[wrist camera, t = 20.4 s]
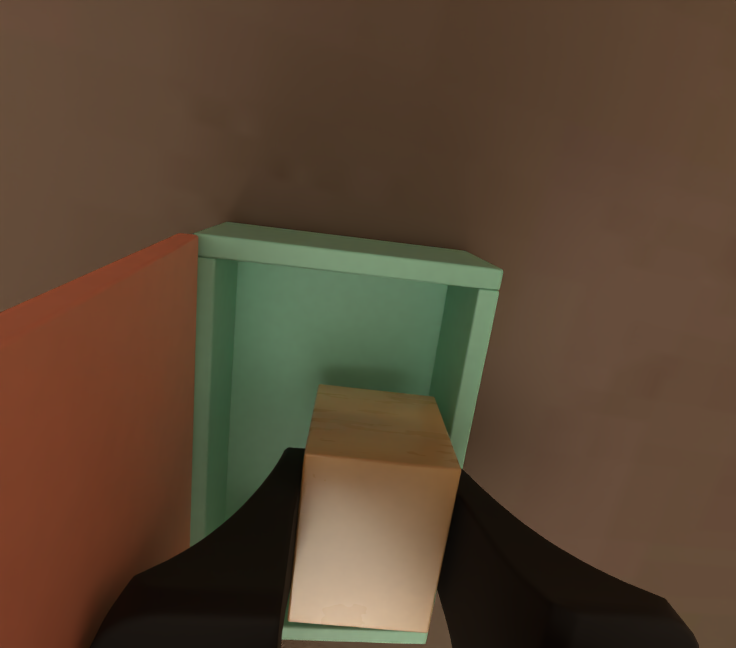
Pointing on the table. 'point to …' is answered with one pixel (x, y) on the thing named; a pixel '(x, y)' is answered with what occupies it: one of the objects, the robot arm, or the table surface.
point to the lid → (95, 441)
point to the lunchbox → (323, 354)
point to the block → (372, 510)
